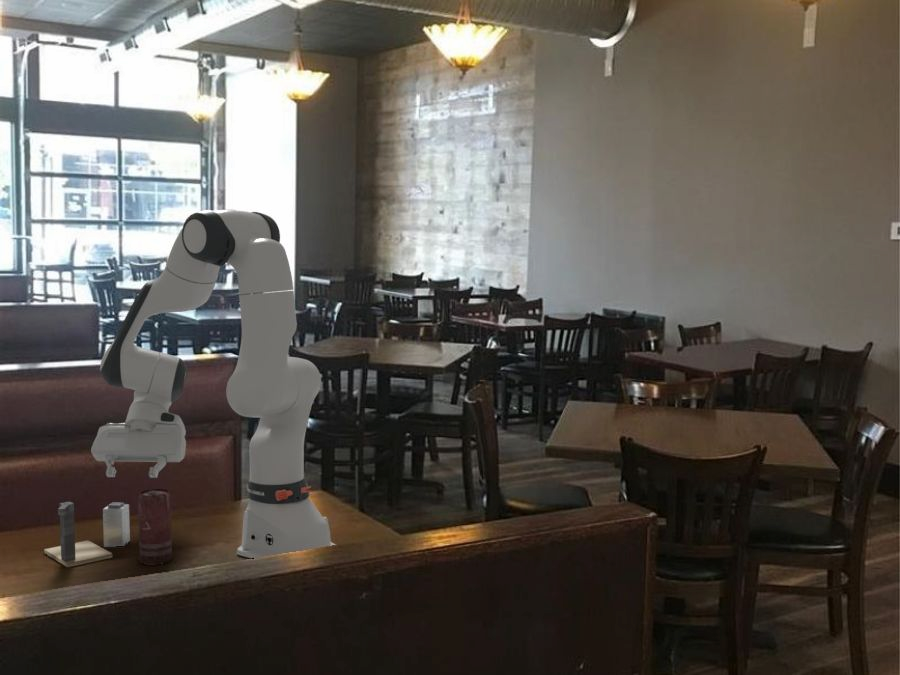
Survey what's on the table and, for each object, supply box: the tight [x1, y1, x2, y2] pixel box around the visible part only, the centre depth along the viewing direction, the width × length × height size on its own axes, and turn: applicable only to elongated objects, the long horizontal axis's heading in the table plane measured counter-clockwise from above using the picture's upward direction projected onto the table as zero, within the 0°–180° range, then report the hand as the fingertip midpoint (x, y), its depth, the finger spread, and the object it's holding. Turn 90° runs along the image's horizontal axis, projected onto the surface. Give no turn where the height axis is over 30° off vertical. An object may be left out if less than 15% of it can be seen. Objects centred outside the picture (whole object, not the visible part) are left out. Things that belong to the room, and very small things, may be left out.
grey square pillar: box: [102, 501, 131, 548], centre depth 200 cm, size 4×4×9 cm
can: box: [137, 488, 173, 565], centre depth 189 cm, size 6×6×14 cm
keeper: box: [43, 501, 114, 568], centre depth 191 cm, size 13×11×12 cm
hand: (131, 476), depth 208 cm, fingers open, 8 cm apart
